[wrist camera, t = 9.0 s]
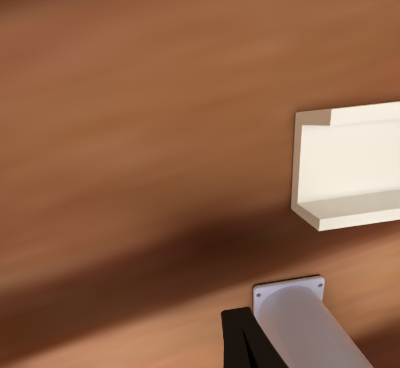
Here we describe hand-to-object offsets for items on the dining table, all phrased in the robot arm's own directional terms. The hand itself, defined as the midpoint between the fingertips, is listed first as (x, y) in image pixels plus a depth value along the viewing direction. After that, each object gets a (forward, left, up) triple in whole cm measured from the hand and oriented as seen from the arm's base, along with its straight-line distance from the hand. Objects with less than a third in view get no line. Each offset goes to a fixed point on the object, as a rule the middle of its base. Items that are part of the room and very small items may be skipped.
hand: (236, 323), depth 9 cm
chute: (+5, -19, -9) cm, 22 cm away
